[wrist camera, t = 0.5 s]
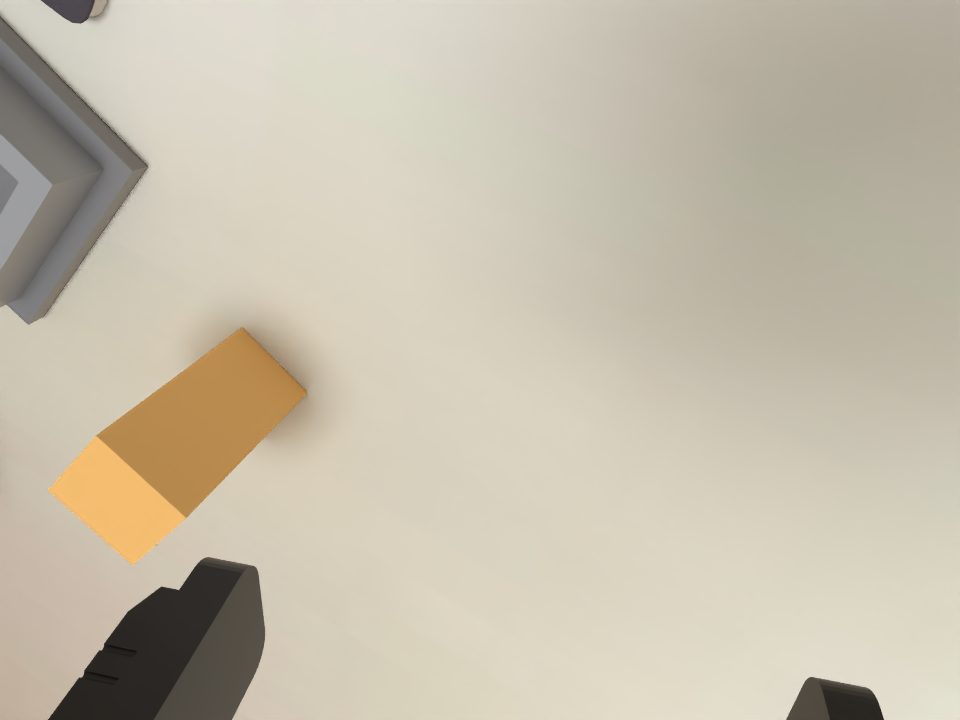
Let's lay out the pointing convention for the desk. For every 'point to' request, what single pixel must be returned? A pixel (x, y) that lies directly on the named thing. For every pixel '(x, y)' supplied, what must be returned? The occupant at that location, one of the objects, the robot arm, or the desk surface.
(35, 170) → the square socket
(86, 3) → the notebook
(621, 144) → the desk surface
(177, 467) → the orange cap block
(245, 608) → the robot arm
